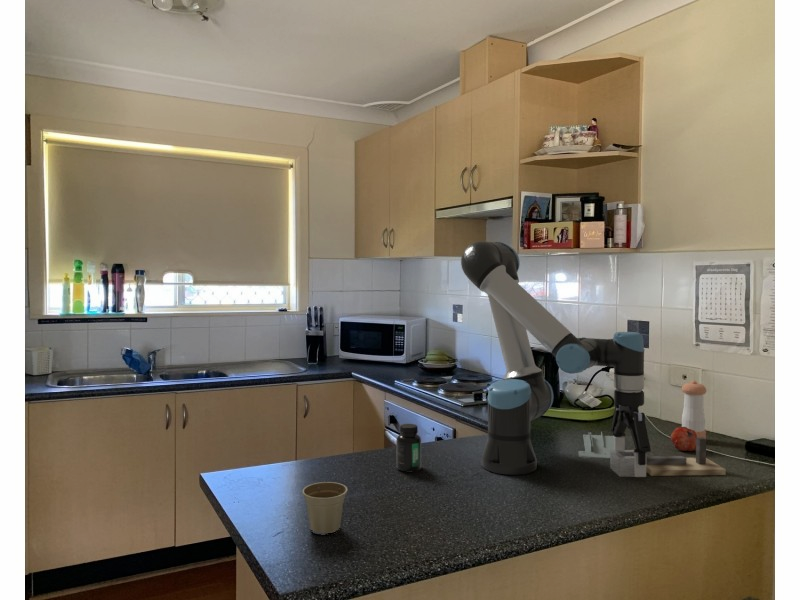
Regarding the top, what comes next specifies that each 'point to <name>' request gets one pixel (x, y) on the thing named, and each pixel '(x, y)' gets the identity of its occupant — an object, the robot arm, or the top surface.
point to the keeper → (684, 463)
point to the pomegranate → (684, 439)
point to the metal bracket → (597, 446)
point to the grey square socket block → (622, 462)
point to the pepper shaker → (694, 408)
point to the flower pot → (325, 505)
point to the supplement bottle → (408, 448)
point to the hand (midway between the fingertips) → (629, 468)
